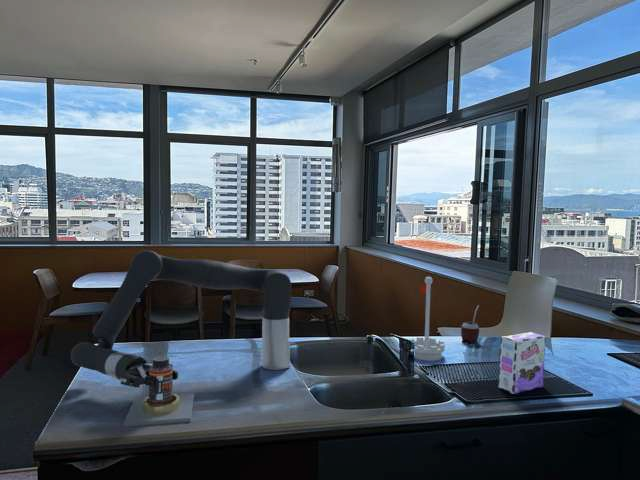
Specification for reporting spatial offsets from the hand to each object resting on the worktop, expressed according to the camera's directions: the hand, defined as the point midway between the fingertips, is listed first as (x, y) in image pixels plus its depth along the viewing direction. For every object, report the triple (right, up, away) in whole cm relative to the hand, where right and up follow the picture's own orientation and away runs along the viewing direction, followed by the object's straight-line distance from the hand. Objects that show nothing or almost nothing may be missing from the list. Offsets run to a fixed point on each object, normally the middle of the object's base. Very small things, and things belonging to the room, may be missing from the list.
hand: (167, 379), depth 123 cm
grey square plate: (-2, -9, +2) cm, 9 cm away
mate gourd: (+103, -6, +71) cm, 125 cm away
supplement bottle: (-2, -6, +2) cm, 7 cm away
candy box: (+103, -9, +22) cm, 106 cm away
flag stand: (+80, -7, +52) cm, 96 cm away
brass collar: (-2, -9, +2) cm, 9 cm away
